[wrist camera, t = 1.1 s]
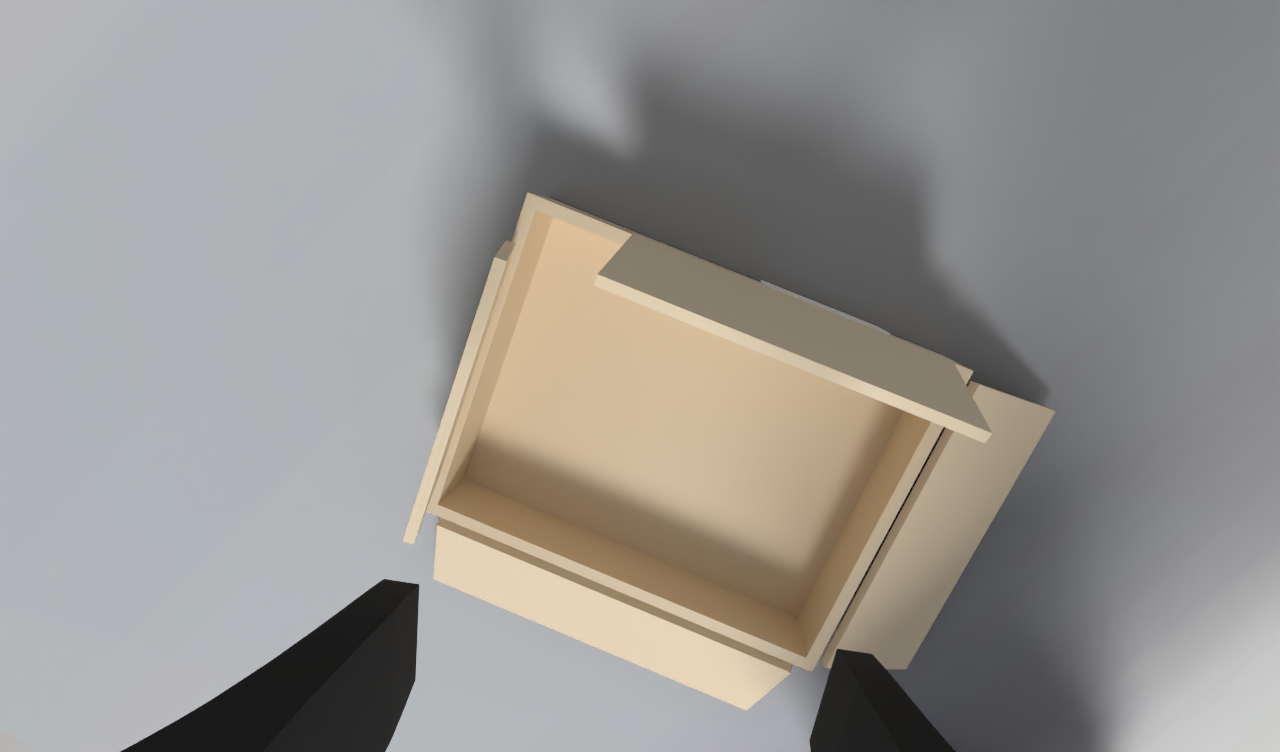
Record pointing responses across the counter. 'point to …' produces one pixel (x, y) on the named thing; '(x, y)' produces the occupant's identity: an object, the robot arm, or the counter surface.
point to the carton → (700, 483)
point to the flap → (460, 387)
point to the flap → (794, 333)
